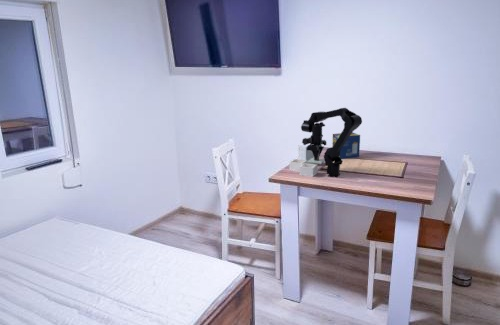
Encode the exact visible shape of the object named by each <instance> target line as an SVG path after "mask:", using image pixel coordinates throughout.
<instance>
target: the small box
mask: <svg viewBox="0 0 500 325" xmlns="http://www.w3.org/2000/svg"><path fill="white" fill-rule="evenodd" d="M308 145H309V144H306V145H304V144H303V143H301V144H299V145H298V146H297V147H298V148H297V149H298V150H297V151H298V152H297V154H298V156H297V159H300V160H307V161H308V160H310V159H311V158H314V155H313V152H312V151H310V150H307V146H308ZM307 164H315V163H307Z"/></svg>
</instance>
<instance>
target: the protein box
mask: <svg viewBox="0 0 500 325" xmlns="http://www.w3.org/2000/svg"><path fill="white" fill-rule="evenodd" d="M341 133H342V132H341ZM341 133H339V132H338V133H332V142H331V143H332V145H331V146H332V147H333V146H334V144H335V142H336V141H337V139H338V137H339V136H340V134H341ZM360 144H361V134H358V133H356V132H354V131H353V132H352V133H351V135H350V136H349V138H348V139H347V141H346V143H345V144H344V146H343V147H342V149H341V150H340V156H339V157H340V158H341V160H344V159H351V158H359V157H360V147H361V146H360Z"/></svg>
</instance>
